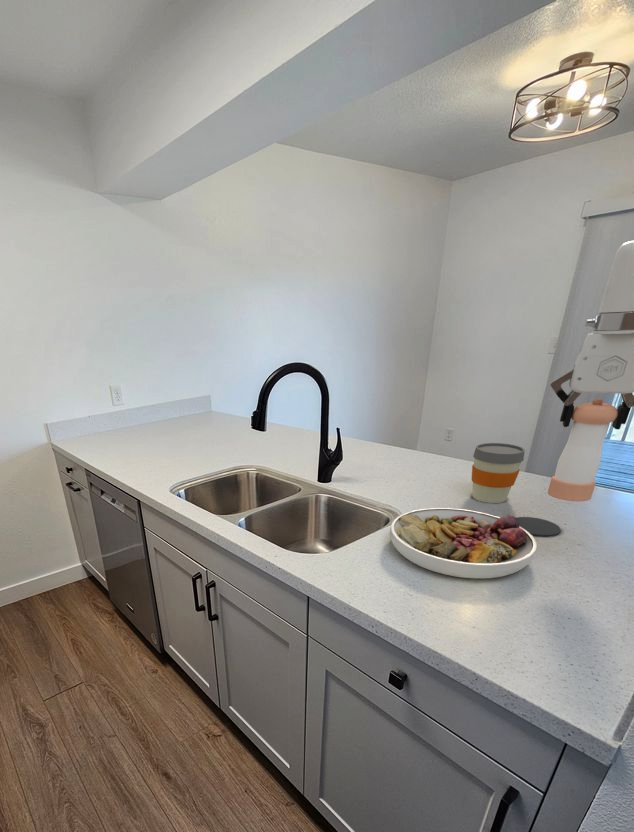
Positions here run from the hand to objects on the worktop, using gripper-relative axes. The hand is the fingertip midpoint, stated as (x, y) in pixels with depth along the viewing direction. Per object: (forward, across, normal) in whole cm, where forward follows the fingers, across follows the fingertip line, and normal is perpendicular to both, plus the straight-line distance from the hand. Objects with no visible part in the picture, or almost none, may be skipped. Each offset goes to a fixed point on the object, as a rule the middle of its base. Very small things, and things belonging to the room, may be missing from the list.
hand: (590, 426), depth 83 cm
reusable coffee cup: (+30, -13, +37) cm, 49 cm away
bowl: (+30, -18, -3) cm, 35 cm away
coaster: (+30, -2, +18) cm, 35 cm away
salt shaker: (+14, 0, 0) cm, 14 cm away
